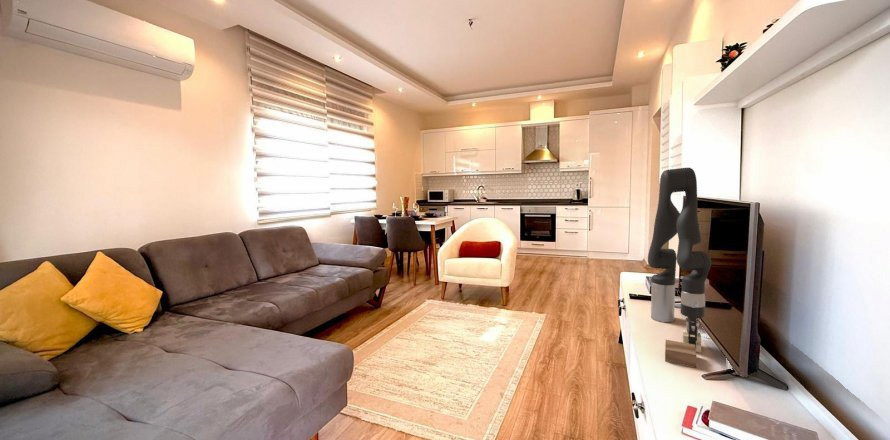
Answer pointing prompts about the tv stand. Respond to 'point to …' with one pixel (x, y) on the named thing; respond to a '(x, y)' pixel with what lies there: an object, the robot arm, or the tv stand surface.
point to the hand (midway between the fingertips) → (691, 345)
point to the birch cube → (698, 342)
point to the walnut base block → (680, 353)
